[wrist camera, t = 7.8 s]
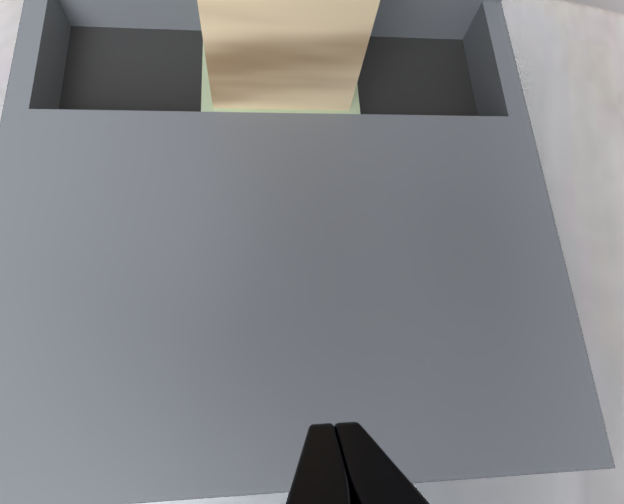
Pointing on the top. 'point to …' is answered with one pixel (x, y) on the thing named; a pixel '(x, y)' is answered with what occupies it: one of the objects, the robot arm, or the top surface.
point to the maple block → (285, 51)
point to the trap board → (276, 264)
